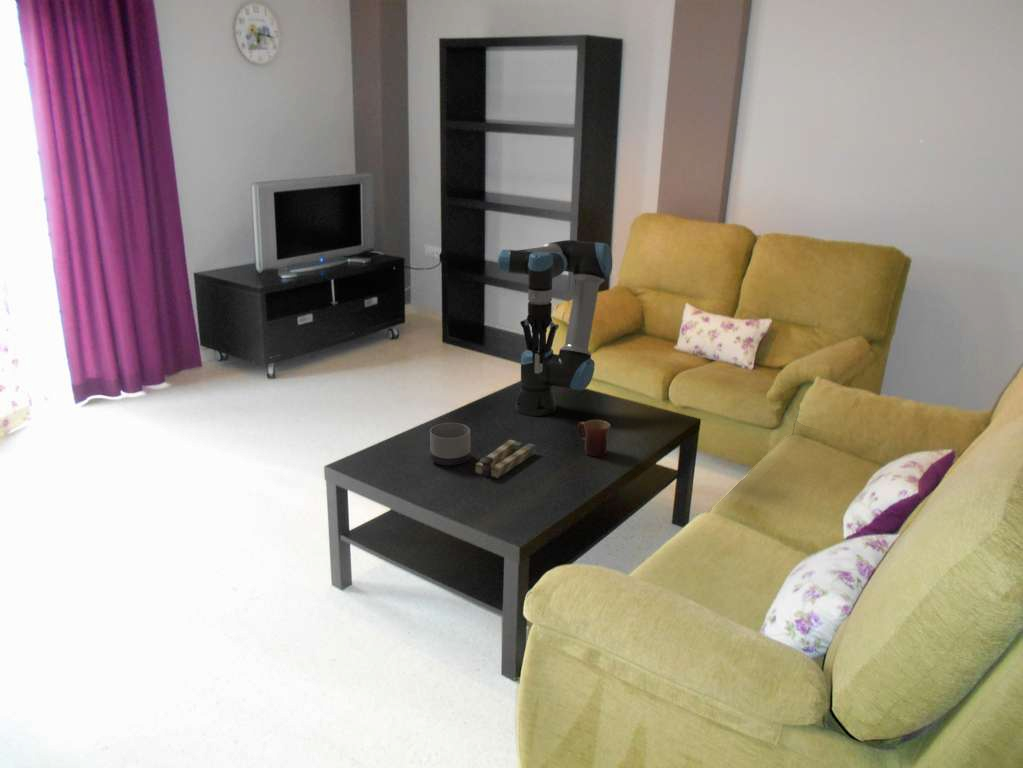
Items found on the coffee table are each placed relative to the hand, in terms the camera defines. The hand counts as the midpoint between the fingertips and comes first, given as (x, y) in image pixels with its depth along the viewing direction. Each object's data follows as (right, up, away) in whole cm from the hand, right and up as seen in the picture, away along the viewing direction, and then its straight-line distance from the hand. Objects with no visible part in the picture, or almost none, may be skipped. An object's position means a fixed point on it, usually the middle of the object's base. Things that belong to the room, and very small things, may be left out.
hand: (538, 372), depth 273 cm
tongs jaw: (-8, -30, -6) cm, 31 cm away
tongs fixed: (-13, -29, -4) cm, 32 cm away
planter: (-29, -29, -2) cm, 41 cm away
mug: (+18, -27, +5) cm, 33 cm away
